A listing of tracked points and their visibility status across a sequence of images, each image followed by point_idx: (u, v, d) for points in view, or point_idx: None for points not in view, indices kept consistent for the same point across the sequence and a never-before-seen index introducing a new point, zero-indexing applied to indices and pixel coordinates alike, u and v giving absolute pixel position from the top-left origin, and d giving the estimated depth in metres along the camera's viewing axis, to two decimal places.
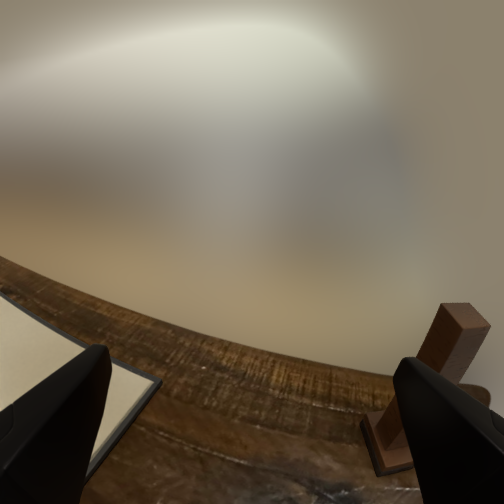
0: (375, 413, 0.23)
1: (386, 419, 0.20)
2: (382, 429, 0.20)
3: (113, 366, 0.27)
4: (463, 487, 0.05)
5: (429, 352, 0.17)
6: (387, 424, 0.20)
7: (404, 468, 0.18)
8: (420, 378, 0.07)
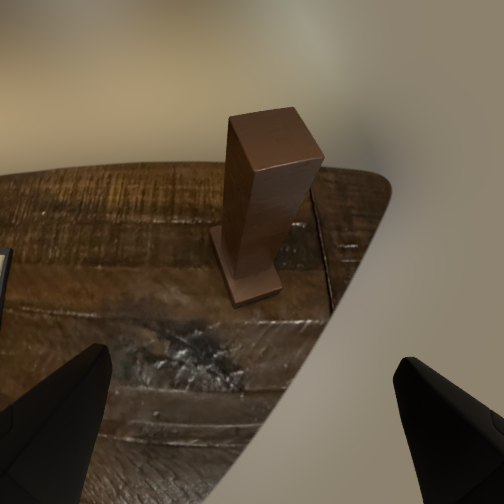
0: (220, 227, 0.23)
1: (224, 244, 0.21)
2: (225, 253, 0.22)
3: None
4: (463, 486, 0.05)
5: (232, 183, 0.14)
6: (226, 250, 0.21)
7: (265, 297, 0.23)
8: (420, 378, 0.07)
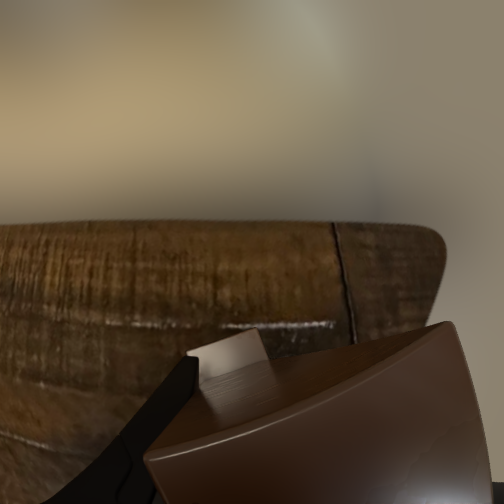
0: (203, 350, 0.14)
1: None
2: None
3: None
4: None
5: None
6: None
7: None
8: None
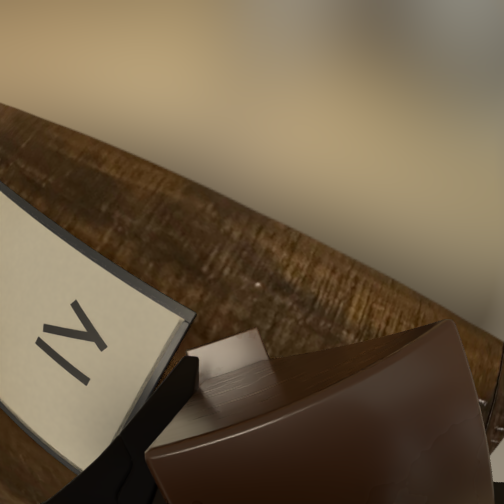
0: (204, 349, 0.14)
1: None
2: None
3: (124, 288, 0.19)
4: None
5: None
6: None
7: None
8: None
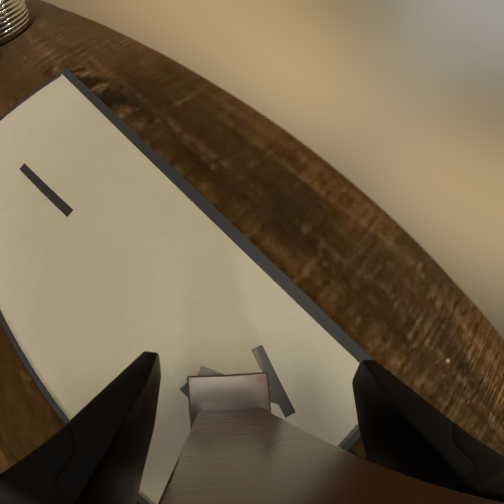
0: (206, 381, 0.13)
1: None
2: None
3: (331, 344, 0.16)
4: None
5: None
6: None
7: None
8: (376, 383, 0.07)
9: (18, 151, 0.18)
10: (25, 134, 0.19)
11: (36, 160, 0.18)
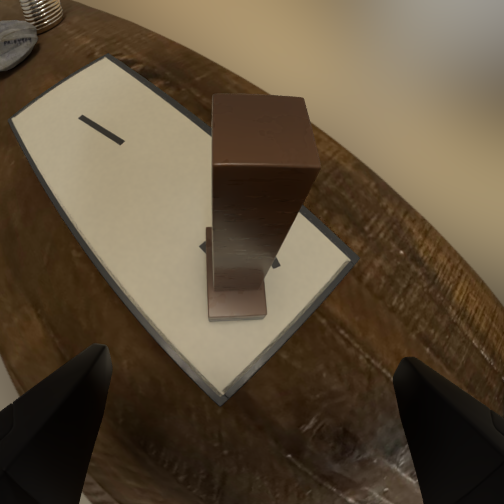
0: None
1: None
2: None
3: (304, 222, 0.24)
4: (462, 486, 0.05)
5: None
6: None
7: (246, 319, 0.20)
8: (420, 378, 0.07)
9: (75, 107, 0.26)
10: (80, 96, 0.27)
11: (92, 112, 0.26)
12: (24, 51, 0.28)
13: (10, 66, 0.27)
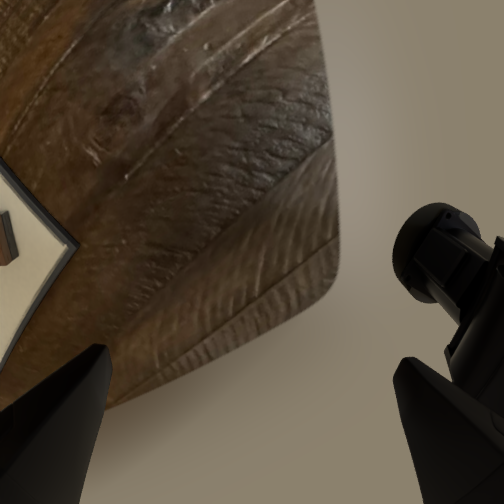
0: None
1: None
2: None
3: None
4: (462, 486, 0.05)
5: None
6: None
7: (8, 227, 0.17)
8: (420, 378, 0.07)
9: None
10: None
11: None
12: None
13: None
